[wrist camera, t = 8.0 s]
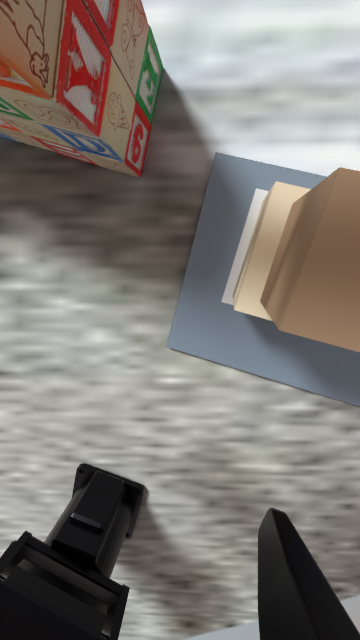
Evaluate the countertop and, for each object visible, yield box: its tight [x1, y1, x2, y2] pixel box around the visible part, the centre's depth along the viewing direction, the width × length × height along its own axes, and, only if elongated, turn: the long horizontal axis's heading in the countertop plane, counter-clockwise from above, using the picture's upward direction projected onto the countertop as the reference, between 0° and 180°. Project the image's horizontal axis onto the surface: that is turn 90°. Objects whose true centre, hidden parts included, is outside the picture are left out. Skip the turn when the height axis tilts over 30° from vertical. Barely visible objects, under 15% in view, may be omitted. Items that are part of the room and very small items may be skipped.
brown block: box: [260, 168, 360, 352], centre depth 9 cm, size 4×4×5 cm
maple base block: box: [233, 181, 311, 321], centre depth 14 cm, size 6×6×4 cm
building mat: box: [167, 152, 360, 407], centre depth 17 cm, size 13×15×1 cm
